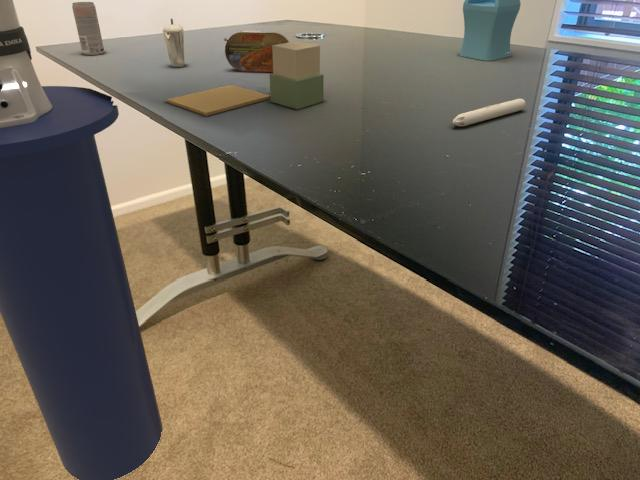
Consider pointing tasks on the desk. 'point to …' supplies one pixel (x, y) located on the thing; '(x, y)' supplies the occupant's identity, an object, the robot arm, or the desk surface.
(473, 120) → the marker
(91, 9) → the energy drink
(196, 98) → the mat
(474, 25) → the vase
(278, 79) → the tower
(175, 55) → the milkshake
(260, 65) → the tin
